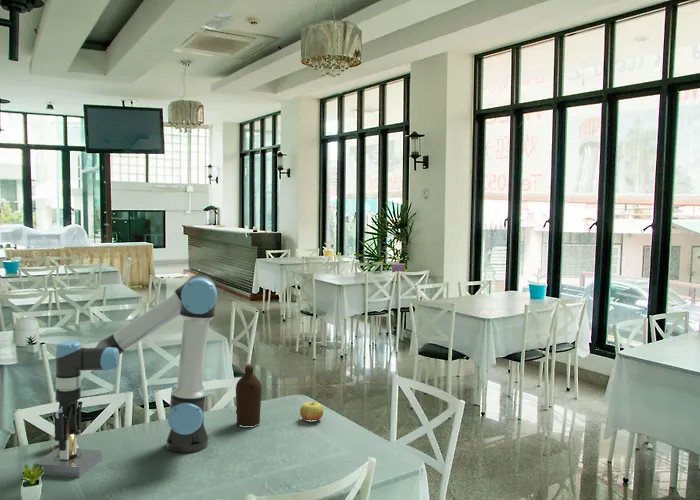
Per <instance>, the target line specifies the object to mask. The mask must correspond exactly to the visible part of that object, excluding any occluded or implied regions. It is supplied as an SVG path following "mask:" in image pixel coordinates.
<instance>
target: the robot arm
mask: <svg viewBox="0 0 700 500" xmlns="http://www.w3.org/2000/svg"><path fill="white" fill-rule="evenodd" d="M217 300H218V291H217V286H216V283H215V281H214V280H213V279H212V278H211V277H210V276H207V275H205V274H196V275H193V276H191V277H190V278H188V279H187V281H185V282H184V283H182V284H181V286H179V287H177V288H176V289H174V291H173V293H172V295H171V296H169V297H167V298H165V300H163V301H161V302H160V303H158V304H157V305H155V306H153V307H152V308H151V309H149V310H148V311H146V312H145V313H143V314H141V315H140V316H138V317H136V318H135V319H134V320H132V321H130V322H129V323H127V324H126V325H124V326H123V327H122V328H120V329H119V330H117V331H114V333H112V334H111V335H108V337H106V338H103V339H102V340H100V341H99V342H98V343H97V345H96V346H95V347H82V344H81V341H75V340H69V341H63V342H60V343H59V342H58V344H57V345H56V349H55V350H56V353H55V388H56V390H55V400H56V402H58V403H59V405H58V410H57V412H56V411H53V415H52V416H53V419H54V441H56V442H58V443H59V442H60V459H64V460H68V459H69V440H67V435H68V426H69V433H74V434H75V451H74V454H76V439H77V437H78V435H80V434H81V430H82V406H83V401H81V400H80V399H81V390H82V389H81V386H82V384H81V383H82V382H81V378H82V377H81V371H104V372H105V371H110V370H111V371H112V370H113V371H114V370H116V369H118V367H119V363H120V355H121V354H122V353H125V352H126V351H127V350H128V349H130V348H131V347H134V346H135V345H136V344H138V343H140V341H143V340H144V339H146V338H147V337H148V336H151V334H153V333H154V332H156V331H157V330H160V328H162V327H164V326H166V325H167V324H168V323H170V322H171V321H173V320H175V319H176V318H177V317H179V316H180V317H181V318H182V319H183V325H182V335H181V343H180V352H179V362H178V369H177V380H176V384H174V385H173V386H172V387H171V392H170V394H171V395H170V401H169V402H170V403H169V411H168V413H167V423H168V426H169V428H170V429H169V432H168V436H167V439H166V442H165V443H166V449H167V450H168V451H170V452H173V453H179V454H181V453H182V454H183V453H184V454H185V453H186V454H188V453H194V452H198V451H201V450H204V449H205V448H206V447H208V445H209V436H208V433H207V430H206V426H205V423H204V422H205V420H204V419H205V418H204V417H205V416H204V415H205V411H204V410H205V402H206V401H205V400H206V392H205V387H204V385H203V379H204V371H205V362H206V352H207V346H208V345H207V343H208V335H209V325H210V321H211V320H213V319H214V318H215V311H216V305H217V304H216V303H217ZM79 400H80V401H79Z"/></svg>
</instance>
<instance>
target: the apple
mask: <svg viewBox="0 0 700 500" xmlns="http://www.w3.org/2000/svg"><path fill="white" fill-rule="evenodd" d="M299 412H300V417H301V418H302V420H304V419H305V420H311V421H312V420H319V419H320V420H321V419H322V418H323V415H324V408H323V406H322V404H320V403H319V402H317V401H307V402H304V403H303V404H302V405H301V407H300V411H299ZM321 417H322V418H321ZM305 420H304V421H305ZM320 420H319V421H320Z"/></svg>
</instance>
